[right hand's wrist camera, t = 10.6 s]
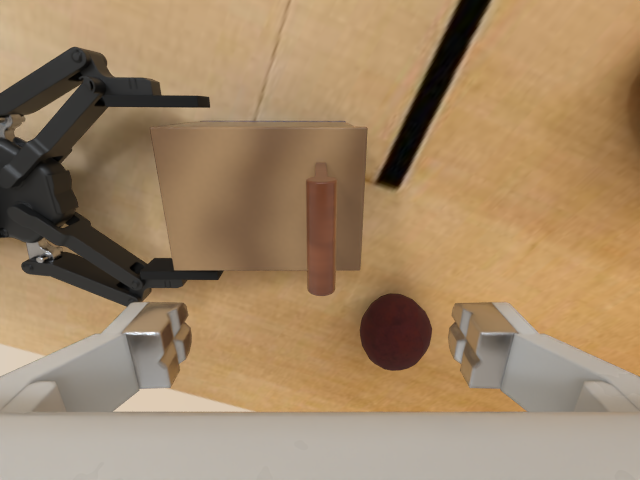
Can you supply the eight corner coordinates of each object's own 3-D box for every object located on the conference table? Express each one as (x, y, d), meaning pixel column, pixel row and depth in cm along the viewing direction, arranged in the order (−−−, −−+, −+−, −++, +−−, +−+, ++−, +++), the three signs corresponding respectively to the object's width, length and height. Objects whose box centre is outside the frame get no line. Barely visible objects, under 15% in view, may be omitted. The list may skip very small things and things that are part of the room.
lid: (365, 126, 22) (389, 135, 15) (358, 265, 26) (375, 329, 18) (155, 126, 22) (72, 135, 15) (178, 265, 26) (121, 329, 18)
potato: (359, 343, 40) (367, 389, 34) (353, 286, 37) (360, 324, 31) (422, 336, 40) (442, 381, 33) (420, 277, 37) (441, 314, 30)
